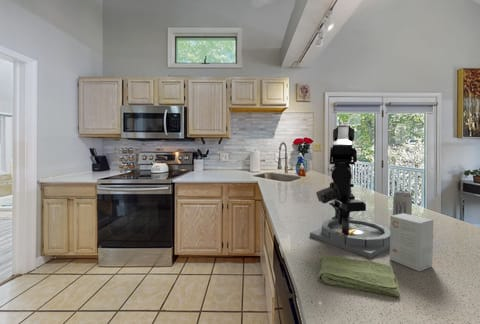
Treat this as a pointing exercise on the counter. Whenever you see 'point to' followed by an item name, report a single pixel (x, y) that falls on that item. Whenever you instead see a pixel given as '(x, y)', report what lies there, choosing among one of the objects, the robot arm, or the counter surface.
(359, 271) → the washcloth
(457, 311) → the counter surface
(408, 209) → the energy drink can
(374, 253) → the grey round platform
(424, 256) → the small box
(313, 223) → the counter surface
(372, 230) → the dial
